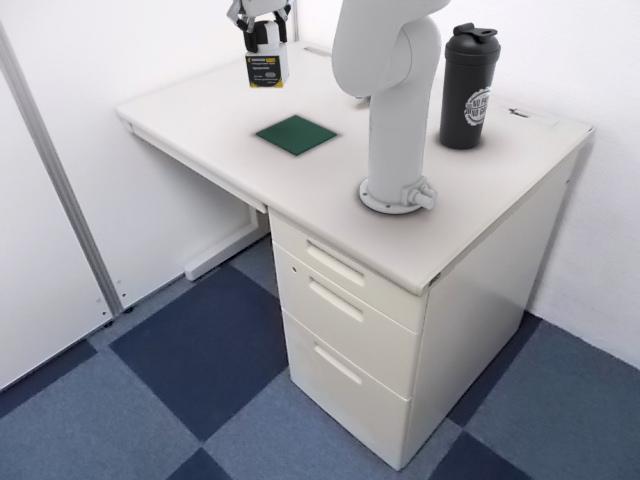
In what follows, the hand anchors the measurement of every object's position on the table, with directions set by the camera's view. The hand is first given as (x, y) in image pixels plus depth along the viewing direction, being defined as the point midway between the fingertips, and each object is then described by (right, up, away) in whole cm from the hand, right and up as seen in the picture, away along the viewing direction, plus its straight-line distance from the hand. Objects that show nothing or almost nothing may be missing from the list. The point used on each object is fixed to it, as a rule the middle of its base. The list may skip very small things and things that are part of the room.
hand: (267, 45), depth 100 cm
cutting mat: (+5, -16, +10) cm, 20 cm away
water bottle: (+41, -18, +5) cm, 45 cm away
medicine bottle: (0, -6, +5) cm, 8 cm away
